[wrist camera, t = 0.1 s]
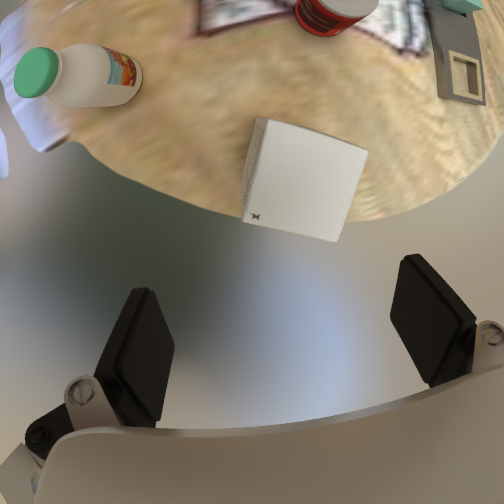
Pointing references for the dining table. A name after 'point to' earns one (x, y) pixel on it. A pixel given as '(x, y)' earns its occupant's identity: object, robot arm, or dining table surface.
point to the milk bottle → (78, 76)
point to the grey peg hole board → (455, 52)
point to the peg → (462, 5)
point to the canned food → (332, 14)
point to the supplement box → (299, 179)
